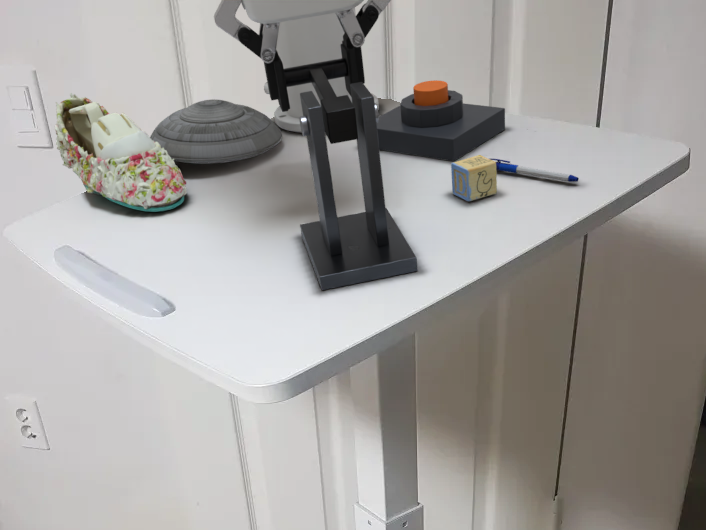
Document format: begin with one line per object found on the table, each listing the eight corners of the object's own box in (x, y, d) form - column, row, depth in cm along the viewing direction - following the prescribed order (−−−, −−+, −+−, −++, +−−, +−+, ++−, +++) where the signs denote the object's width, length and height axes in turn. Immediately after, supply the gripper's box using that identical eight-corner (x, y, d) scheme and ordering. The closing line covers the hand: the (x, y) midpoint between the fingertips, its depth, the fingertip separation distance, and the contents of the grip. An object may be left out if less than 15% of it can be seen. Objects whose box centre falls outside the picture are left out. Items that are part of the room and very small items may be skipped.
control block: (362, 147, 92) (358, 108, 89) (415, 117, 98) (413, 80, 95) (454, 161, 86) (452, 120, 83) (505, 129, 91) (504, 89, 89)
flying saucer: (145, 141, 100) (135, 90, 96) (270, 127, 103) (265, 78, 99) (156, 181, 88) (146, 125, 85) (296, 164, 92) (291, 110, 88)
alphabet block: (451, 194, 80) (450, 161, 78) (479, 185, 81) (478, 152, 79) (469, 203, 78) (467, 170, 76) (497, 194, 78) (497, 161, 76)
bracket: (302, 237, 76) (275, 85, 68) (387, 220, 77) (371, 67, 68) (321, 290, 68) (294, 125, 59) (417, 271, 69) (404, 105, 60)
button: (407, 106, 89) (406, 89, 88) (427, 96, 91) (426, 79, 90) (435, 110, 87) (434, 92, 86) (455, 99, 89) (454, 81, 88)
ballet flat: (130, 229, 82) (104, 146, 77) (36, 173, 97) (9, 101, 92) (212, 198, 86) (192, 117, 81) (109, 148, 101) (88, 78, 96)
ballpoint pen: (479, 169, 83) (479, 158, 82) (484, 166, 84) (484, 155, 83) (576, 184, 78) (576, 173, 77) (580, 181, 78) (581, 170, 78)
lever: (284, 89, 74) (280, 60, 72) (346, 78, 74) (342, 49, 73) (309, 148, 65) (304, 116, 63) (379, 135, 65) (376, 103, 63)
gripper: (382, -177, 66) (403, 72, 78) (164, -144, 64) (219, 105, 76) (405, -173, 60) (423, 95, 72) (167, -136, 59) (226, 132, 71)
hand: (318, 98), depth 74 cm, fingers closed on lever, 5 cm apart
